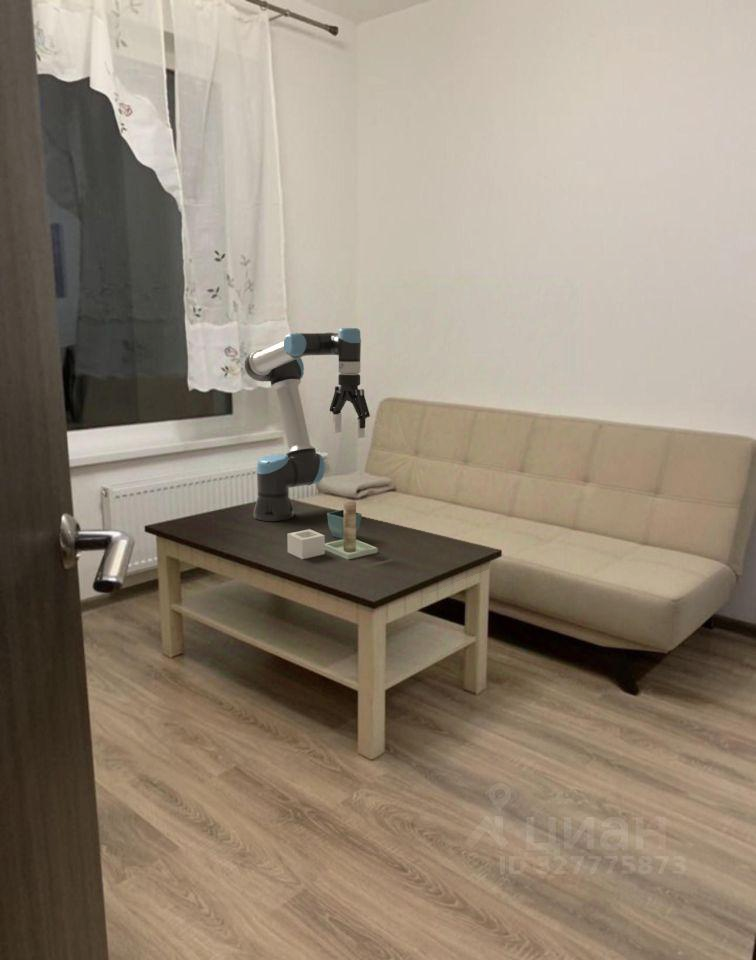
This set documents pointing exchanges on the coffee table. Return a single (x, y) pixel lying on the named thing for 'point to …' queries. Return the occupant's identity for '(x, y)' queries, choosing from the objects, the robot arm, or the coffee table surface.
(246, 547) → the coffee table surface
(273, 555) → the coffee table surface
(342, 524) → the flower pot
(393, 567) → the coffee table surface
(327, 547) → the tray
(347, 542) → the dowel
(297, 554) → the hollow block
